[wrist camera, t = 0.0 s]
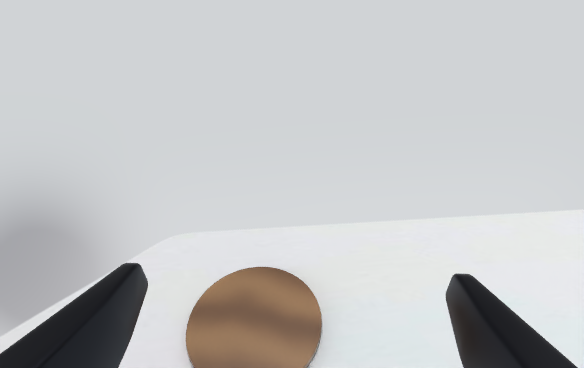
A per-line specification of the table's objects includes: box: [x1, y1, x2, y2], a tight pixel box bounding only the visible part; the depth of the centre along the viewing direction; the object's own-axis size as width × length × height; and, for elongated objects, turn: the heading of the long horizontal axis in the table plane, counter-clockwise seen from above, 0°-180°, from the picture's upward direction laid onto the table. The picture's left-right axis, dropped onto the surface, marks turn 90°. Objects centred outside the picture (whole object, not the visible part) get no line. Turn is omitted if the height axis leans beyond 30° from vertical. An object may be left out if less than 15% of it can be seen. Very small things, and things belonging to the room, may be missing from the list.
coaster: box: [186, 267, 322, 368], centre depth 25 cm, size 11×11×1 cm
